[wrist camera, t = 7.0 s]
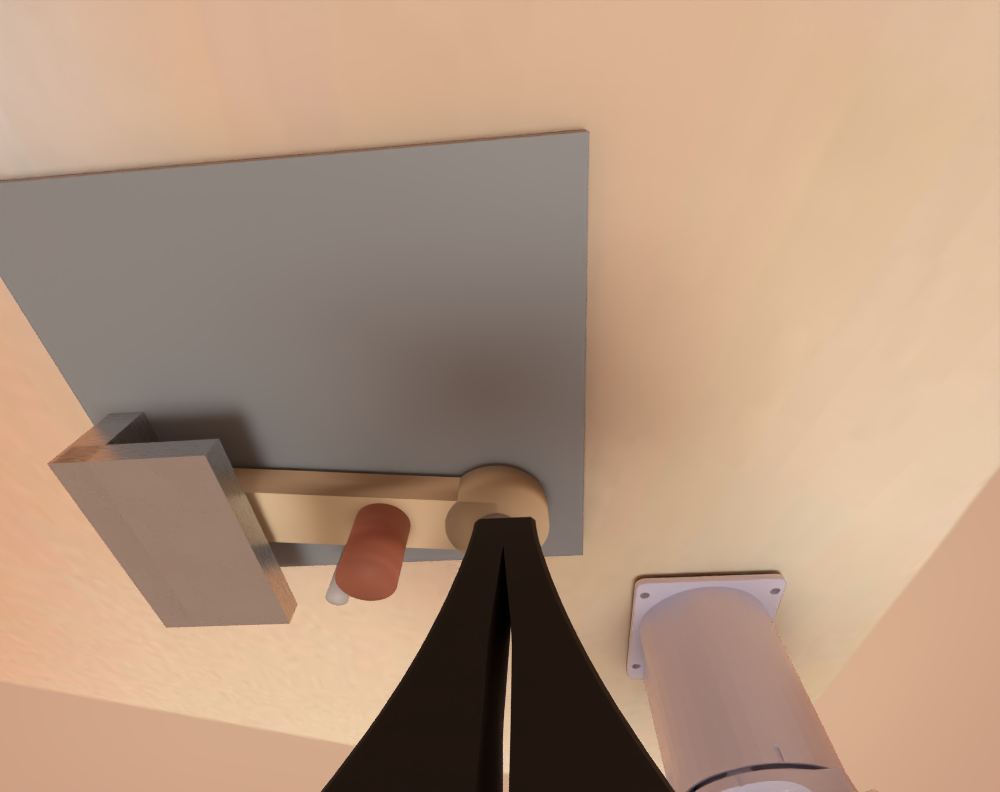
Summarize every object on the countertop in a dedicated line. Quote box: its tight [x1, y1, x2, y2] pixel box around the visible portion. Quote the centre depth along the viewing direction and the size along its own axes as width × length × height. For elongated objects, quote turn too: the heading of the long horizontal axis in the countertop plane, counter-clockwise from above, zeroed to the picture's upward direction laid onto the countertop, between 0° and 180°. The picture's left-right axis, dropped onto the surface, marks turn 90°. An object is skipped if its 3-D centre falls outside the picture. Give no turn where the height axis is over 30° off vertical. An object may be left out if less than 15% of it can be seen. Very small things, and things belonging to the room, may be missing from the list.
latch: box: [233, 465, 549, 601], centre depth 21 cm, size 15×5×4 cm, turn 88°
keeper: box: [48, 412, 297, 627], centre depth 22 cm, size 10×6×4 cm, turn 5°
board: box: [0, 130, 589, 605], centre depth 20 cm, size 19×21×4 cm
